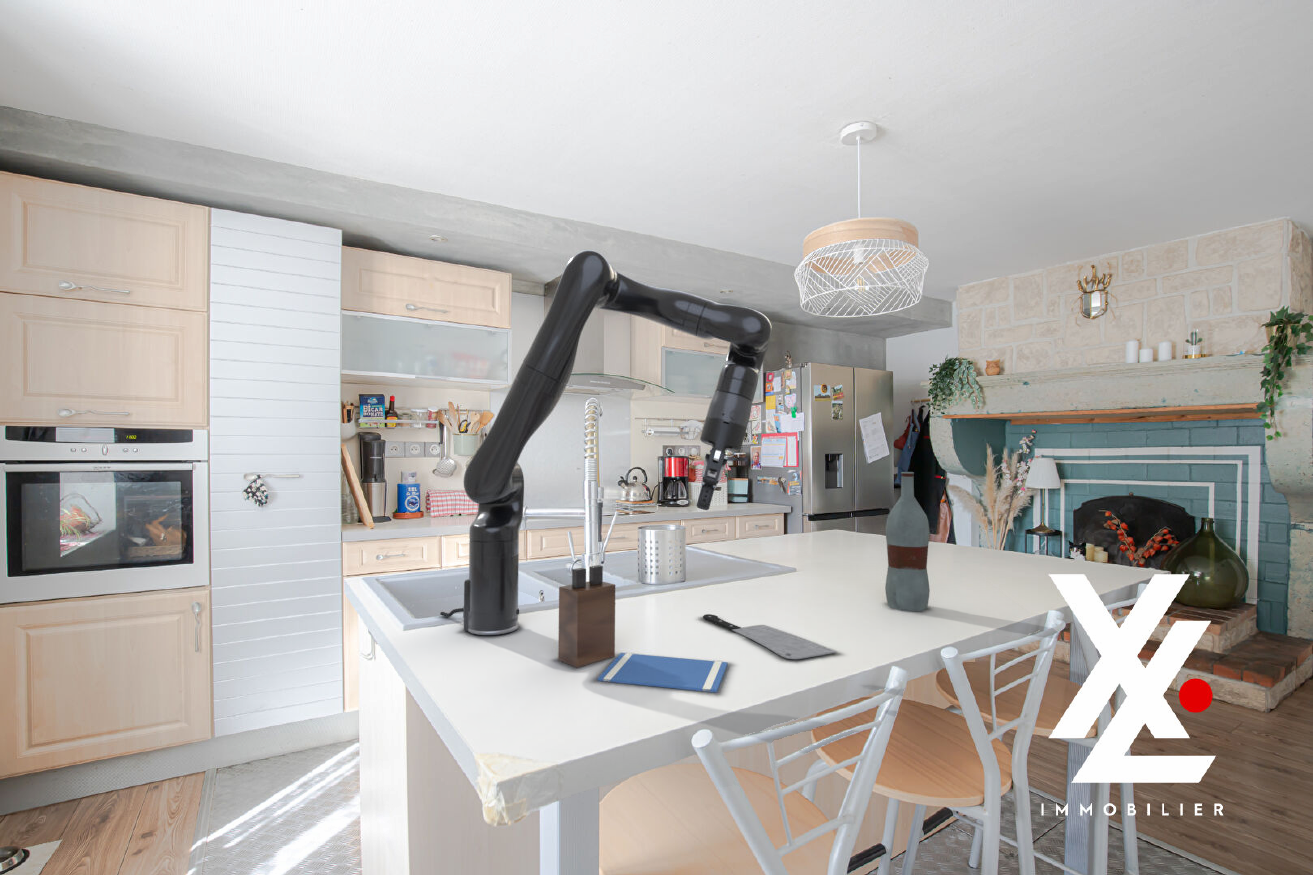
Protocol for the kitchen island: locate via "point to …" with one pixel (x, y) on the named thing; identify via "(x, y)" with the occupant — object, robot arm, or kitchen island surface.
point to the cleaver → (776, 640)
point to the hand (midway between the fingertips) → (702, 508)
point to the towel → (665, 672)
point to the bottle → (907, 551)
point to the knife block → (586, 618)
